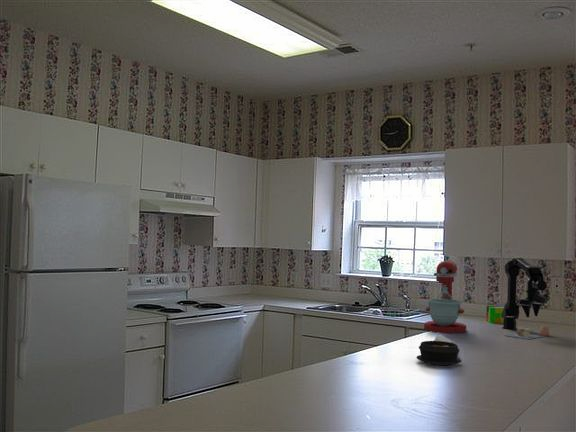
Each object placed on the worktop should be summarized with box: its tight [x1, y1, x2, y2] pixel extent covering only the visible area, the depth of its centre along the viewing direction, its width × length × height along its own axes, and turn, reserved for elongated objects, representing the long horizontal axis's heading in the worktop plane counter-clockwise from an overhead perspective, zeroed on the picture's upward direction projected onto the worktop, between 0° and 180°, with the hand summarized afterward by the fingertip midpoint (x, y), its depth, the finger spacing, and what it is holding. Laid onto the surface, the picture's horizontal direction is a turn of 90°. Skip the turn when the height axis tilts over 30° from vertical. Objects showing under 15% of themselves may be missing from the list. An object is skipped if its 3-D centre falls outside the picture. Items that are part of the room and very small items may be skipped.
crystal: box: [433, 334, 460, 357], centre depth 286 cm, size 7×7×24 cm
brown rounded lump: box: [539, 325, 550, 337], centre depth 350 cm, size 5×5×5 cm
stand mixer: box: [423, 260, 467, 334], centre depth 360 cm, size 24×32×40 cm
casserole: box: [415, 340, 462, 367], centre depth 260 cm, size 25×19×8 cm
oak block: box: [516, 327, 531, 337], centre depth 343 cm, size 5×5×4 cm
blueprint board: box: [504, 332, 544, 340], centre depth 343 cm, size 14×16×1 cm
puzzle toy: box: [485, 305, 504, 325], centre depth 401 cm, size 10×10×10 cm
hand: (532, 316), depth 346 cm, fingers open, 9 cm apart
